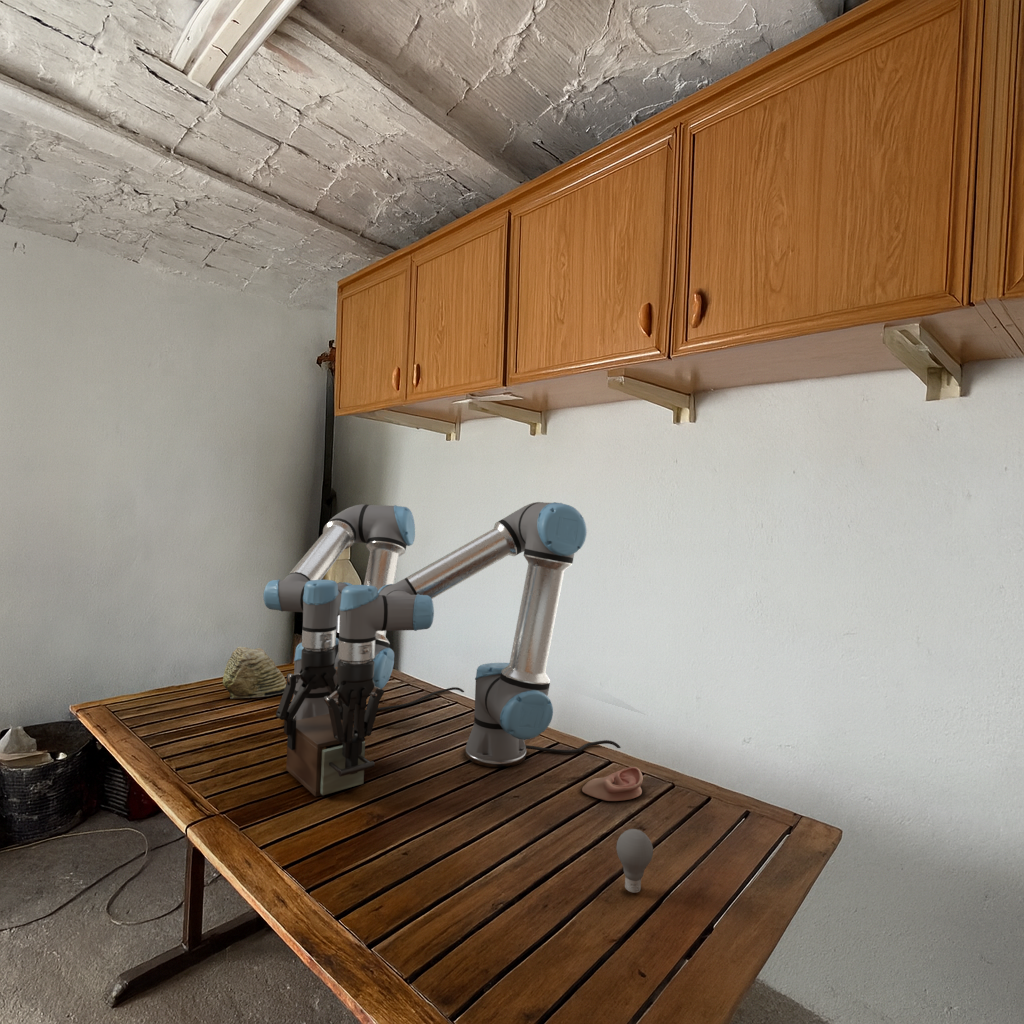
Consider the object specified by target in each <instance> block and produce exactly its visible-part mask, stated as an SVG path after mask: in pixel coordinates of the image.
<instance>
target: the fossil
mask: <svg viewBox="0 0 1024 1024" xmlns="http://www.w3.org/2000/svg"><path fill="white" fill-rule="evenodd" d="M222 676H223V677H222V685H223V687H224V688H225V690H226V691H228V693H229V698H230V699H250V698H264V697H271V696H275V695H281V694H283V692H284V690H285V687H286V684H287V679H286V678H285V676H284V674H283V673H282V672H281V669H279V668H278V667H277V665H276V663H275V662H274V660H273V659H272V658H271V657H270V656H269V655H268V654H267V653H266V652H265V650H264V649H263V648H260V647H258V648H251V647H247V646H246V647H245V646H238V647H237V648H236V649H235V650H233V651H232V653H231V656H230V657H229V659H228V660H227V663H226V666H225V668H224V671H223V675H222Z"/></svg>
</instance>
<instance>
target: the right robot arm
mask: <svg viewBox="0 0 1024 1024" xmlns="http://www.w3.org/2000/svg"><path fill="white" fill-rule="evenodd" d="M587 531H588V530H587V523H586V521H585V518H584V517H583V515H582V514H581V512H580V511H579V510H577V509H576V508H575V507H574V506H571V505H570V504H566V503H562V502H543V501H542V502H541V501H537V502H532V503H529V504H526V505H523V506H522V507H521V508H519V509H517V510H515V511H513V512H512V513H510V514H508V515H507V516H504V518H502V519H500V520H498V521H496V522H495V523H494V526H493V528H491V529H490V530H489V531H487V532H485V533H483V534H482V535H479V536H478V537H476V538H474V539H472V540H470V541H469V542H467V543H466V544H464V545H461V546H460V547H458V548H456V549H455V550H453V551H451V552H449V553H447V554H446V555H444V556H443V557H440V558H438V559H437V560H435V561H433V562H431V563H430V564H428V565H426V566H423V568H421V569H419V570H417V571H415V572H414V573H412V574H410V575H408V576H406V577H405V578H403V579H401V580H399V581H397V582H395V584H388V585H385V586H383V587H381V588H380V589H379V590H378V589H377V588H376V587H375V586H371V585H364V584H352V585H350V586H346V587H345V588H344V589H343V590H342V595H341V605H340V615H339V624H338V625H339V626H338V628H339V629H338V639H339V645H338V658H339V659H340V660H339V661H338V666H337V685H336V687H335V691H334V692H333V693H332V694H331V695H330V696H325V697H324V701H325V703H326V704H327V706H328V709H329V714H330V719H331V724H332V729H333V735H334V738H335V739H337V740H338V741H339V742H343V747H342V755H343V757H345V758H346V759H345V768H348V767H352V766H356V765H358V755H361V753H362V742H364V741H365V742H366V737H370V736H371V735H372V732H373V728H374V725H375V721H376V717H377V712H378V711H377V709H378V708H379V705H380V701H381V700H382V697H383V696H384V694H385V690H384V689H383V688H382V689H380V688H379V687H376V686H375V683H374V681H373V677H374V663H375V662H374V661H373V660H372V659H373V658H374V657H375V639H376V631H386V632H391V631H392V632H395V631H396V632H397V631H414V632H417V631H421V630H428V629H430V628H431V627H432V625H433V622H434V619H435V618H434V617H435V606H434V601H433V599H435V598H437V597H439V596H440V595H442V594H443V593H445V592H447V591H448V590H449V591H450V590H451V589H452V588H454V587H456V586H457V585H459V584H461V583H462V582H464V581H466V580H468V579H470V578H471V577H473V576H475V575H477V574H479V573H480V572H482V571H483V570H485V569H487V568H489V567H490V566H492V565H494V564H496V563H498V562H499V561H501V560H503V559H504V558H507V557H508V556H511V557H516V556H518V555H520V554H522V553H523V557H524V558H525V560H526V561H527V568H526V574H525V580H524V584H523V585H524V586H523V590H522V596H521V599H520V600H521V601H520V606H519V612H518V616H517V623H516V627H515V633H514V638H513V643H512V649H511V654H510V658H509V662H489V663H488V662H487V663H483V664H480V665H479V666H477V668H476V672H475V678H474V680H475V685H474V686H475V689H474V693H475V694H474V714H473V716H474V717H473V720H474V721H473V726H472V728H471V731H470V734H469V736H468V739H467V742H466V745H465V757H466V759H468V760H469V761H470V762H471V763H473V764H476V765H480V766H482V767H487V768H508V767H513V766H516V765H519V764H520V763H523V762H524V761H525V759H526V758H527V750H533V751H540V752H547V753H554V754H565V755H567V754H568V755H569V754H577V753H580V752H582V751H583V750H585V749H586V748H588V747H592V746H597V745H598V746H599V745H606V744H607V745H611V746H614V747H615V748H616V749H621V748H622V746H621V745H619V744H618V743H617V742H616V741H613V740H608V739H604V740H596V741H591V742H587V743H584V744H583V745H582V746H580V747H578V748H575V749H557V748H548V747H541V746H535V745H528V744H526V743H525V742H526V741H527V740H532V739H535V738H536V737H538V736H539V735H541V734H542V733H544V732H545V731H546V730H547V729H548V727H549V726H550V724H551V722H552V719H553V717H554V706H553V703H552V700H551V699H550V697H549V691H550V687H551V679H550V677H549V676H548V673H547V672H546V671H547V665H548V660H549V655H550V650H551V649H550V648H551V645H552V639H553V634H554V629H555V621H556V618H557V614H558V613H557V612H558V607H559V602H560V597H561V591H562V585H563V581H564V574H565V571H566V570H567V569H568V568H570V567H571V566H573V564H574V558H575V554H576V553H578V551H579V550H581V548H582V547H583V546H584V544H585V542H586V539H587V533H588V532H587ZM338 697H339V698H340V699H341V701H342V707H343V722H341V717H340V712H339V707H338V705H337V704H338ZM367 700H368V701H367ZM365 710H366V712H365ZM353 736H354V738H352V737H353ZM525 740H526V741H525ZM356 773H357V772H356ZM352 774H355V773H352Z"/></svg>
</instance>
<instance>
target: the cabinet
mask: <svg viewBox="0 0 1024 1024" xmlns="http://www.w3.org/2000/svg"><path fill="white" fill-rule="evenodd" d="M341 722H343V720H341ZM352 738H354V736H353V737H352ZM340 743H343V742H339V741H338V740H337V739H335V738H334V735H333V729H332V724H331V719H330V714H325V715H320V716H315V717H310V718H305V719H300V720H296V742H295V750H291V749H290V748H289V747H287V746H286V765H285V766H286V768H285V770H286V771H287V773H289V774H290V775H291V776H292V777H293V778H294V779H296V781H298V783H300V785H302V786H303V787H304V788H305V789H307V791H308V792H310V793H311V795H313V796H314V797H320V796H323V795H322V794H321V793H320V791H321V787H320V776H321V751H322V748H323V747H327V746H331V745H335V744H340Z"/></svg>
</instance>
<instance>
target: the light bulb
mask: <svg viewBox="0 0 1024 1024" xmlns="http://www.w3.org/2000/svg"><path fill="white" fill-rule="evenodd" d="M615 849H616V854H617V857H618V859H619V861H620V863H621V865H622V867H623V873H624V874H623V875H624V876H625V878H624V888H625V890H627V891H628V892H630V893H634V894H635V893H639V892H640V891H641V889H642V887H641V886H642V879H643V877H644V875H645V871H646V868H647V867H648V866H649V864H650V863H651V861H652V859H653V855H654V847H653V843H652V841H651V838H649V836H648V835H647V834H646V833H645V832H643V831H642V830H641V829H636V828H629V829H627V830H625V831H623V832H622V833H621V834H620V835H619V837H618V839H617V841H616V847H615Z"/></svg>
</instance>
